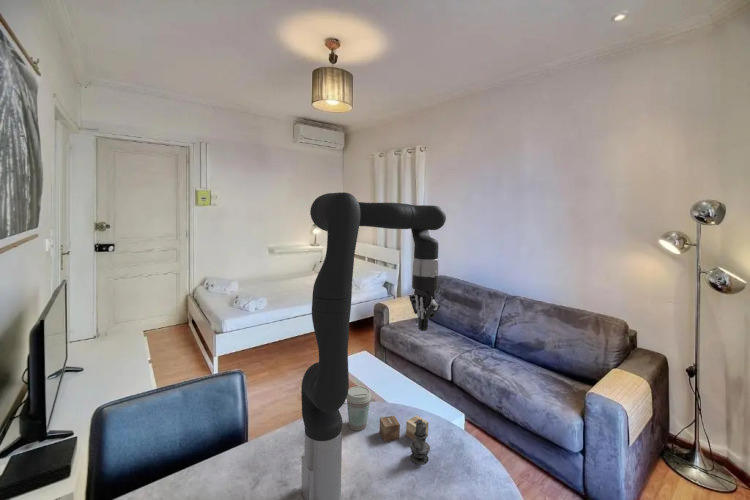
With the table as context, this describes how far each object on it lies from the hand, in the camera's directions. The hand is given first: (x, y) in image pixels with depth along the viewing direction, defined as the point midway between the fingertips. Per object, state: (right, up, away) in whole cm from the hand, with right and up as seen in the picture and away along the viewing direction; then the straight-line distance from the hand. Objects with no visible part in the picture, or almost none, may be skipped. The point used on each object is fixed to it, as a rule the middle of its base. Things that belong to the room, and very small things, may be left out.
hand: (422, 330), depth 103 cm
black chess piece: (-1, -37, -3) cm, 37 cm away
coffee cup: (-20, -35, +12) cm, 42 cm away
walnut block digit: (-10, -36, +7) cm, 38 cm away
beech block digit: (-1, -36, +7) cm, 37 cm away
